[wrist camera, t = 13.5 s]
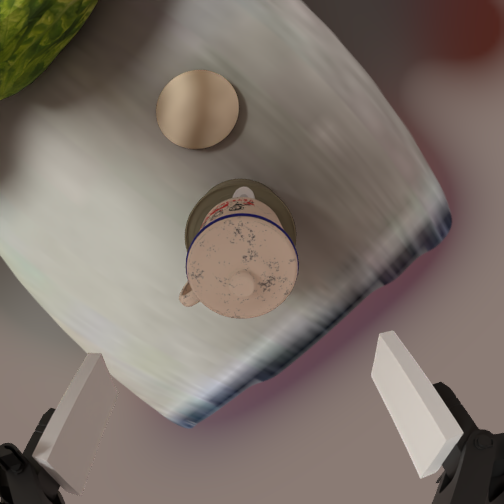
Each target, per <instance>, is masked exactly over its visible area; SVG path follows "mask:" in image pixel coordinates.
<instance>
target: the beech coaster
mask: <svg viewBox="0 0 504 504" xmlns="http://www.w3.org/2000/svg"><path fill="white" fill-rule="evenodd" d="M238 113H239V103H238V97H237V94H236V92H235V90H234V88H233V87H232V85H231V84H230V83H229V82H228V81H227V80H226V79H225V78H224V77H222V76H221V75H219V74H217V73H214V72H211V71H207V70H193V71H188V72H185V73H183V74H180V75H178V76H177V77H175V78H174V79H172V80H171V81H170V82H169V83H168V84H167V85H166V86H165V88H164V89H163V90H162V92H161V94H160V96H159V98H158V102H157V107H156V117H157V122H158V125H159V127H160V129H161V131H162V133H163V134H164V135H165V136H166V137H167V138H168V139H169V140H170V141H171V142H173V143H174V144H176V145H178V146H181V147H184V148H189V149H202V148H207V147H210V146H213V145H215V144H217V143H219V142H220V141H222V140H223V139H224V138H226V137H227V135H228V134H229V133H230V132H231V131H232V129H233V128H234V126H235V124H236V121H237V118H238Z"/></svg>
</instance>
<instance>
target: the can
mask: <svg viewBox="0 0 504 504" xmlns="http://www.w3.org/2000/svg"><path fill="white" fill-rule="evenodd" d="M235 197H248V198H253V199H256V200H259V201H261V202H263V203H264V204H266V205H267V206H268V207H270V208H271V209H272V210H273V212H274V213H275V214H276V215H277V217H278V219H279V221H280V223H281V225H282V227H283V229H284V231H285V232H286V233H287V234H288V235H289V237H290V238H291V240H292V242H293V244H294V246H295V245H296V228H295V223H294V220H293V217H292V215H291V213H290V211H289V209H288V208H287V206H286V205H285V204H284V203H283V201H282V200H281V199H280V198H279V197H278V196H276V195H275V194H274V193H273V192H272V191H271V190H270V189H269V188H267V187H266V186H265V185H263V184H261V183H259V182H256V181H253V180H249V179H233V180H228V181H225V182H222V183H220V184H218V185H217V186H215V187H213V188H212V189H211V190H210V191H209V192H208V193H207V194H206V195H205V196H204V197H202V198H201V199H200V200H199V202H198V203H197V204H196V205H195V207H194V208H193V210H192V211H191V213H190V215H189V218H188V220H187V224H186V229H185V245H186V249H187V253H188V249H189V247H190V245H191V243H192V241H193V239H194V238H195V236H196V235H197V234H198V232H199V231H200V228H201V226H202V224H203V221H204V219H205V217H206V216H207V214H208V213H209V212H210V211H211V210H212V209H213V208H214V207H215V206H216V205H218V204H219V203H221V202H223V201H225V200H227V199H231V198H235Z"/></svg>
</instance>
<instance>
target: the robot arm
mask: <svg viewBox="0 0 504 504" xmlns="http://www.w3.org/2000/svg"><path fill="white" fill-rule="evenodd" d="M371 377H372V379H373V381H374V383H375V385H376V387H377V389H378V391H379V393H380V395H381V397H382V399H383V401H384V403H385V405H386V407H387V409H388V411H389V413H390V415H391V417H392V419H393V421H394V423H395V425H396V427H397V429H398V431H399V433H400V436H401V438H402V440H403V442H404V444H405V446H406V448H407V450H408V453H409V455H410V457H411V459H412V461H413V463H414V466H415V468H416V470H417V472H418V474H419V476H420V478H423V477H426V476H428V475H431V474H433V473H435V472H437V471H438V469H439V468H440V467H441V465H443V467H444V469H445V471H444V472H443V473H442V475H441V476H440V477H439V478H438V480H437V482H436V483H439V481H440V480H441V481H440V484H439V486H438V489H437V492H436V494H435V497H434V500H433V502H432V504H504V433H501V434H492V433H491V432H490V431H487V430H480V429H478V427H477V426H476V425H475V423H474V421H473V420H472V418H471V417H470V416H469V414H468V413H467V411H466V410H465V408H464V407H463V406H462V405H461V403H460V401H459V400H458V398H456V396H455V394H454V393H453V391H452V390H451V389H450V388H449V387H448V386H446V385H445V384H443V383H442V382H439V383H436V384H433V385H432V384H431V382H430V381H429V379H428V378H427V376H426V375H425V374H424V372H423V371H422V369H421V368H420V367H419V365H418V364H417V362H416V361H415V360H414V358H413V357H412V355H411V354H410V353H409V351H408V350H407V348H406V347H405V346H404V344H403V343H402V342H401V340H400V339H399V338H398V336H397V335H396V334H395V332H394V331H389V332H383V333H379V338H378V343H377V349H376V355H375V360H374V364H373V369H372V374H371ZM118 394H119V393H118V391H117V389H116V387H115V385H114V382H113V380H112V378H111V375H110V373H109V371H108V368H107V366H106V364H105V361H104V359H103V356H102V354H101V353H88V354H87V356H86V358H85V360H84V361H83V363H82V364H81V366H80V368H79V369H78V371H77V373H76V375H75V376H74V378H73V380H72V381H71V383H70V385H69V387H68V389H67V390H66V392H65V394H64V395H63V397H62V399H61V401H60V403H59V404H58V406H57V408H56V409H53V408H50V409H49V410H48V411H47V412H46V413H45V414H44V415H43V416H42V418H41V420H40V422H39V425H38V426H37V427H36V429H35V432H34V433H33V435H32V437H31V439H30V441H29V443H28V444H27V446H26V449H25V450H24V452H23V454H22V453H21V452H20V451H19V449H18V448H17V447H16V446H15V445H13V444H11V443H5V444H2V445H0V497H1V502H0V504H65V502H64V500H63V497H62V495H61V493H60V492H59V491H58V489H59V487H60V486H61V487H62V488H63V489H64V490H65V491H66V492H68V493H72V494H76V495H79V496H82V494H83V491H84V488H85V485H86V481H87V478H88V475H89V472H90V469H91V467H92V463H93V461H94V458H95V455H96V452H97V449H98V447H99V444H100V441H101V438H102V436H103V433H104V430H105V428H106V425H107V422H108V420H109V417H110V414H111V412H112V409H113V407H114V404H115V402H116V399H117V397H118Z"/></svg>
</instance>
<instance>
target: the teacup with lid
mask: <svg viewBox="0 0 504 504" xmlns="http://www.w3.org/2000/svg"><path fill="white" fill-rule="evenodd" d="M298 267H299V263H298V255H297V251H296V248H295V246H294V244H293V242H292V240H291V238H290V237H289V235H288V234H287V233H286V232H285V231H284V229H283V227H282V225H281V223H280V221H279V219H278V217H277V215H276V214H275V213H274V212H273V210H272V209H271V208H270V207H268V206H267V205H266V204H264V203H263V202H261V201H259V200H256V199H253V198H248V197H235V198H231V199H227V200H225V201H223V202H221V203H219V204H218V205H216V206H215V207H214V208H213V209H212V210H211V211H210V212H209V213H208V214H207V216H206V217H205V219H204V221H203V224H202V226H201V228H200V231H199V232H198V234H197V235H196V236H195V238H194V239H193V241H192V243H191V245H190V247H189V249H188V253H187V257H186V274H187V278H188V282H187V283H186V284H185V286H184V287H183V289H182V290H181V292H180V295H179V300H180V302H181V303H182V304H183V305H184V306H186V307H190V306H193V305H195V304H197V303H198V302H200V301H201V302H202V303H203V304H204V305H205V306H207V307H208V308H209V309H211V310H212V311H214V312H216V313H218V314H221V315H224V316H227V317H231V318H253V317H257V316H261V315H263V314H266V313H268V312H270V311H272V310H273V309H275V308H276V307H278V306H279V305H280V304H281V303H282V302H283V301H284V300H285V299H286V298H287V297H288V295H289V294H290V292H291V291H292V289H293V287H294V284H295V282H296V279H297V275H298Z"/></svg>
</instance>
